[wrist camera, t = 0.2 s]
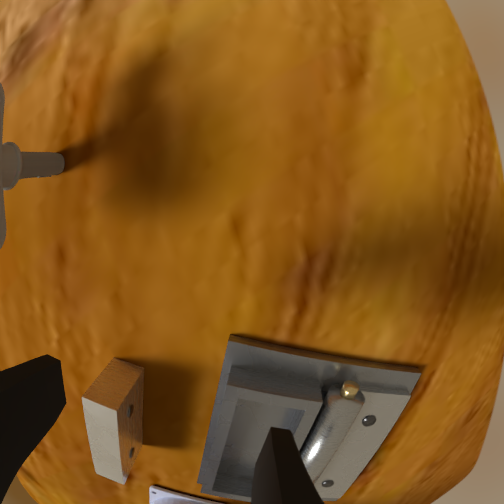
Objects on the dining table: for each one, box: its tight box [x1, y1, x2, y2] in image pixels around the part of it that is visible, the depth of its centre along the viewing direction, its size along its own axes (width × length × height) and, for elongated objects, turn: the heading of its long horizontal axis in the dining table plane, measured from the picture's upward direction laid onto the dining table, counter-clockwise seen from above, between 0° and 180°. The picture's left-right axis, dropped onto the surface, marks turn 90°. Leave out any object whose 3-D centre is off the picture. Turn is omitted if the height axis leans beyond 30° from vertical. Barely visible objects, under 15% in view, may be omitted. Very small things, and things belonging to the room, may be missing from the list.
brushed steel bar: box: [82, 357, 144, 484], centre depth 19 cm, size 9×2×5 cm, turn 168°
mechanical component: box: [0, 83, 65, 249], centre depth 12 cm, size 3×10×10 cm, turn 2°
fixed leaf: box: [197, 334, 421, 502], centre depth 19 cm, size 16×13×3 cm
